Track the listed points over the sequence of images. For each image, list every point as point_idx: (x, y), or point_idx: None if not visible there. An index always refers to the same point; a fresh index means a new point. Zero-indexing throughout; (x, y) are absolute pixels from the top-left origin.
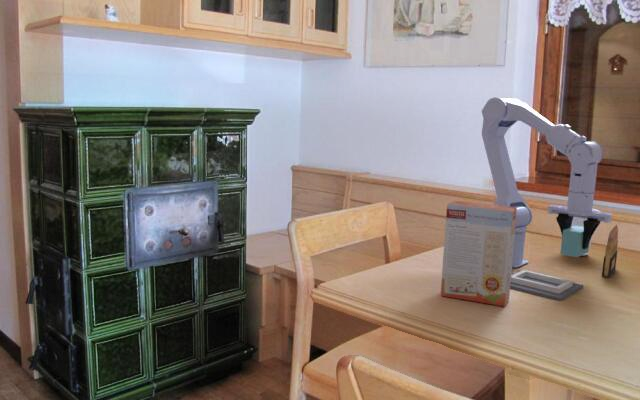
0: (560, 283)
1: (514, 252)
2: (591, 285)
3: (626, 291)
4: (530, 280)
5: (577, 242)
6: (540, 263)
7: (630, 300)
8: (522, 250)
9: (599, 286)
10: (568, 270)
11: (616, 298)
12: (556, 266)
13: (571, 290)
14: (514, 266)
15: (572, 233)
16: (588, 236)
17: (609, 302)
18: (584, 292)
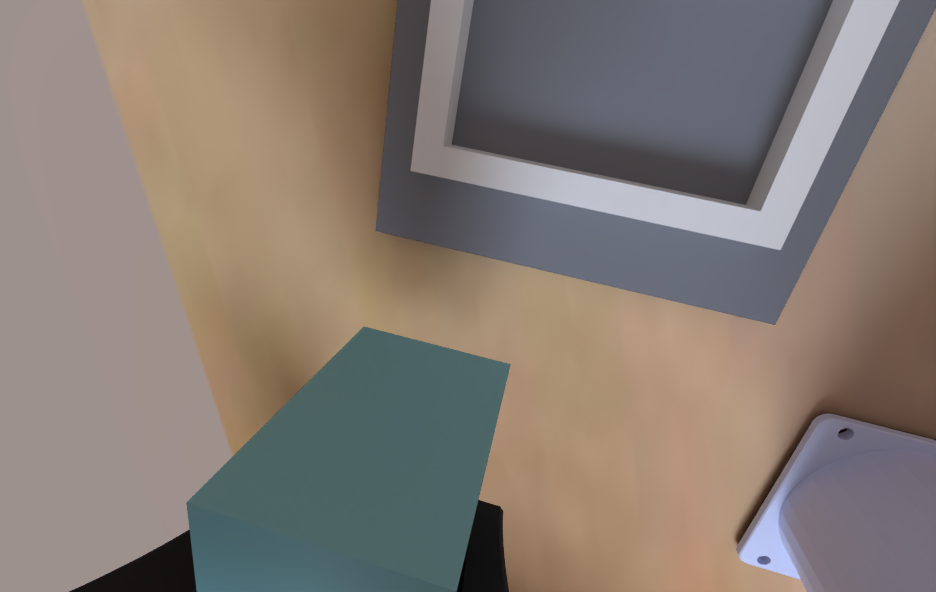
0: (490, 152)
1: (906, 527)
2: (356, 299)
3: (208, 292)
4: (703, 109)
5: (299, 409)
6: (663, 567)
7: (143, 139)
8: (837, 577)
9: (321, 304)
10: (508, 505)
11: (198, 127)
12: (574, 547)
13: (404, 47)
14: (837, 417)
15: (310, 510)
16: (180, 537)
17: (195, 9)
18: (351, 128)
